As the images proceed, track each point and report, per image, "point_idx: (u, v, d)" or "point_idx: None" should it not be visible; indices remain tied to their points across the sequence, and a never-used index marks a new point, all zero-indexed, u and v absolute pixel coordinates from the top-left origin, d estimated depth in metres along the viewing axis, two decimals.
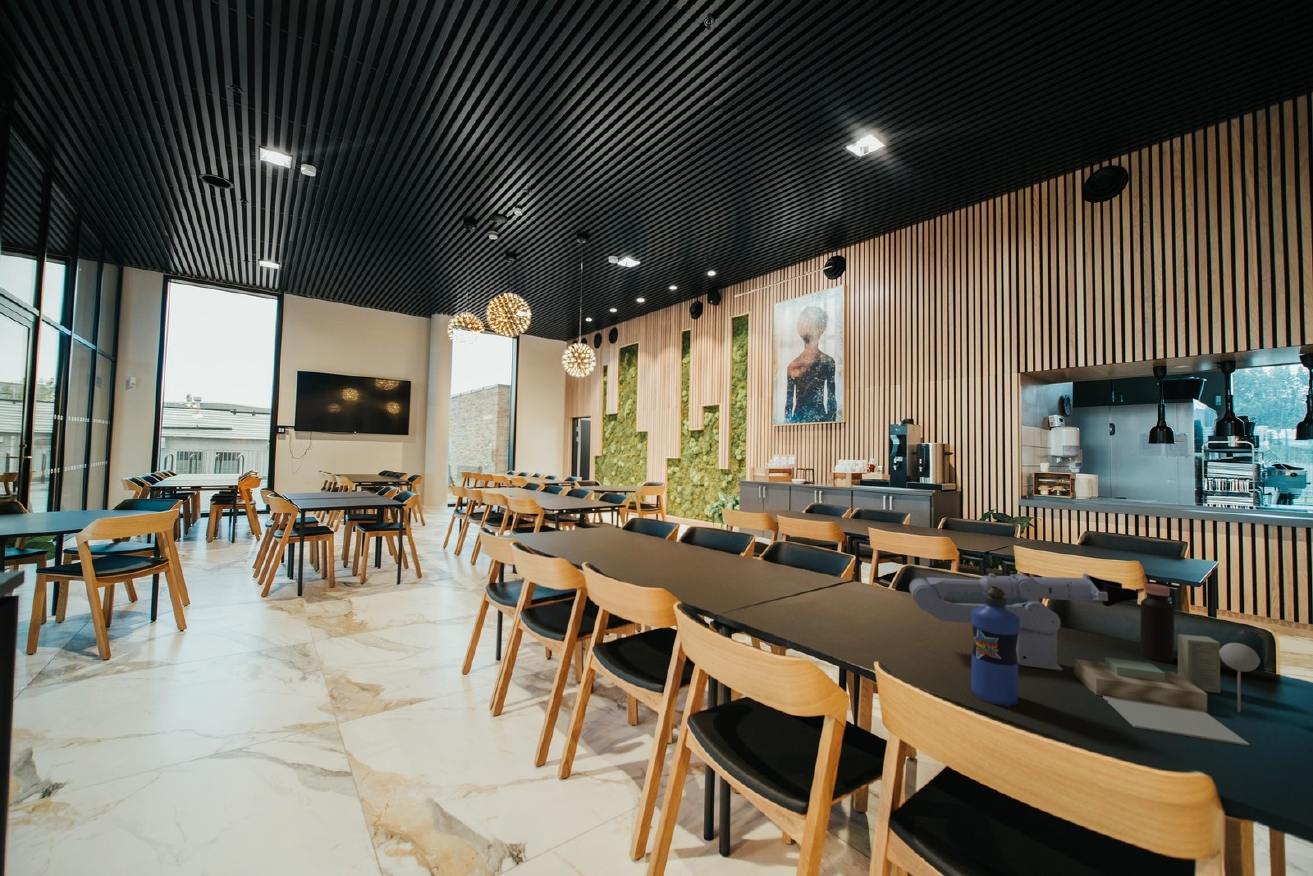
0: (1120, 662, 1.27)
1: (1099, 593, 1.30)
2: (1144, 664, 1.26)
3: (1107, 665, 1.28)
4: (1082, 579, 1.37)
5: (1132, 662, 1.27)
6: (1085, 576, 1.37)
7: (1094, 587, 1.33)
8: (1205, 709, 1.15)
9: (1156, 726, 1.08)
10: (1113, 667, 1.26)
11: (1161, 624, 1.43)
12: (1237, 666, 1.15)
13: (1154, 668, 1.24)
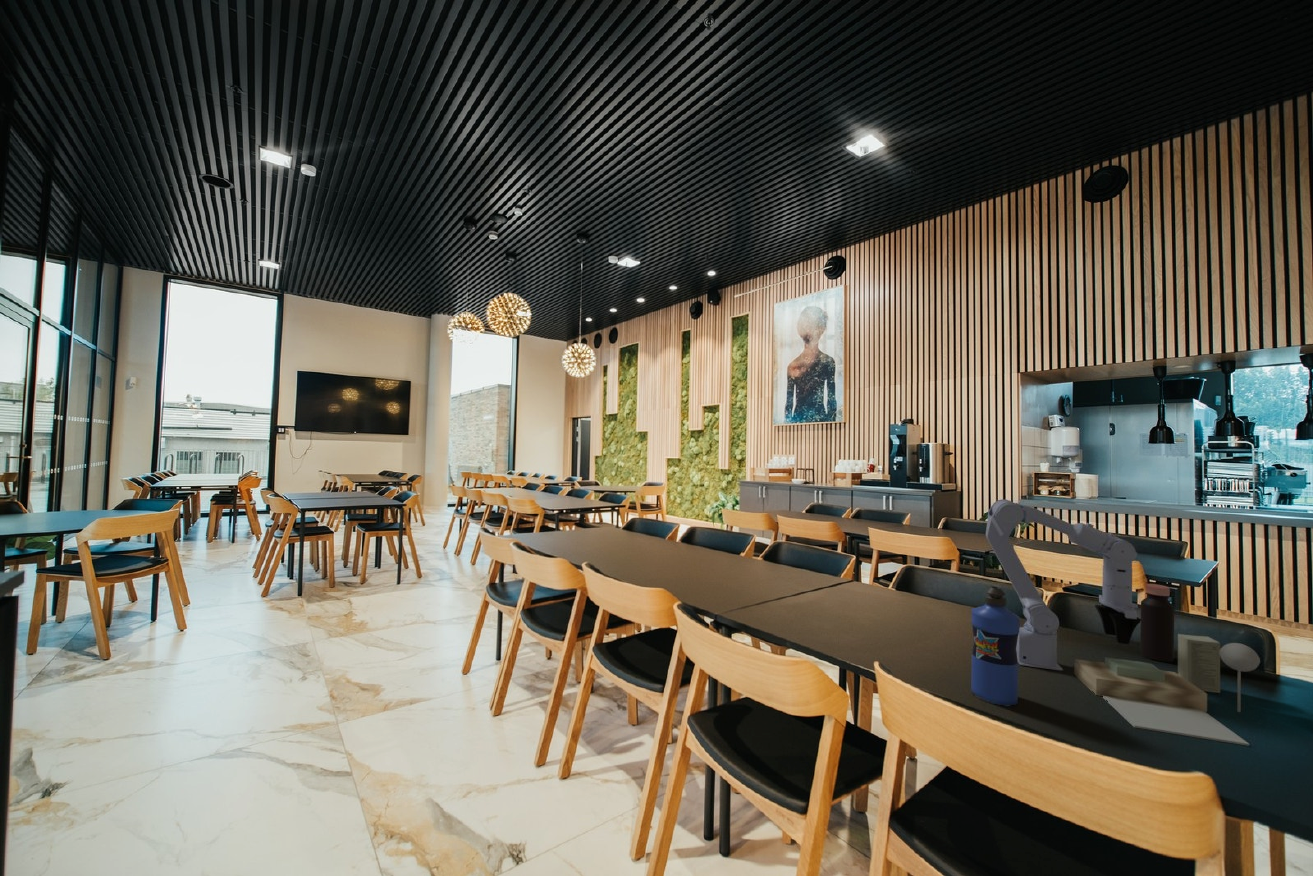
0: (1120, 662, 1.27)
1: (1135, 612, 1.27)
2: (1144, 664, 1.26)
3: (1107, 665, 1.28)
4: (1131, 601, 1.32)
5: (1132, 662, 1.27)
6: (1134, 604, 1.32)
7: None
8: (1205, 709, 1.15)
9: (1156, 726, 1.08)
10: (1113, 667, 1.26)
11: (1161, 624, 1.43)
12: (1237, 666, 1.15)
13: (1154, 668, 1.24)
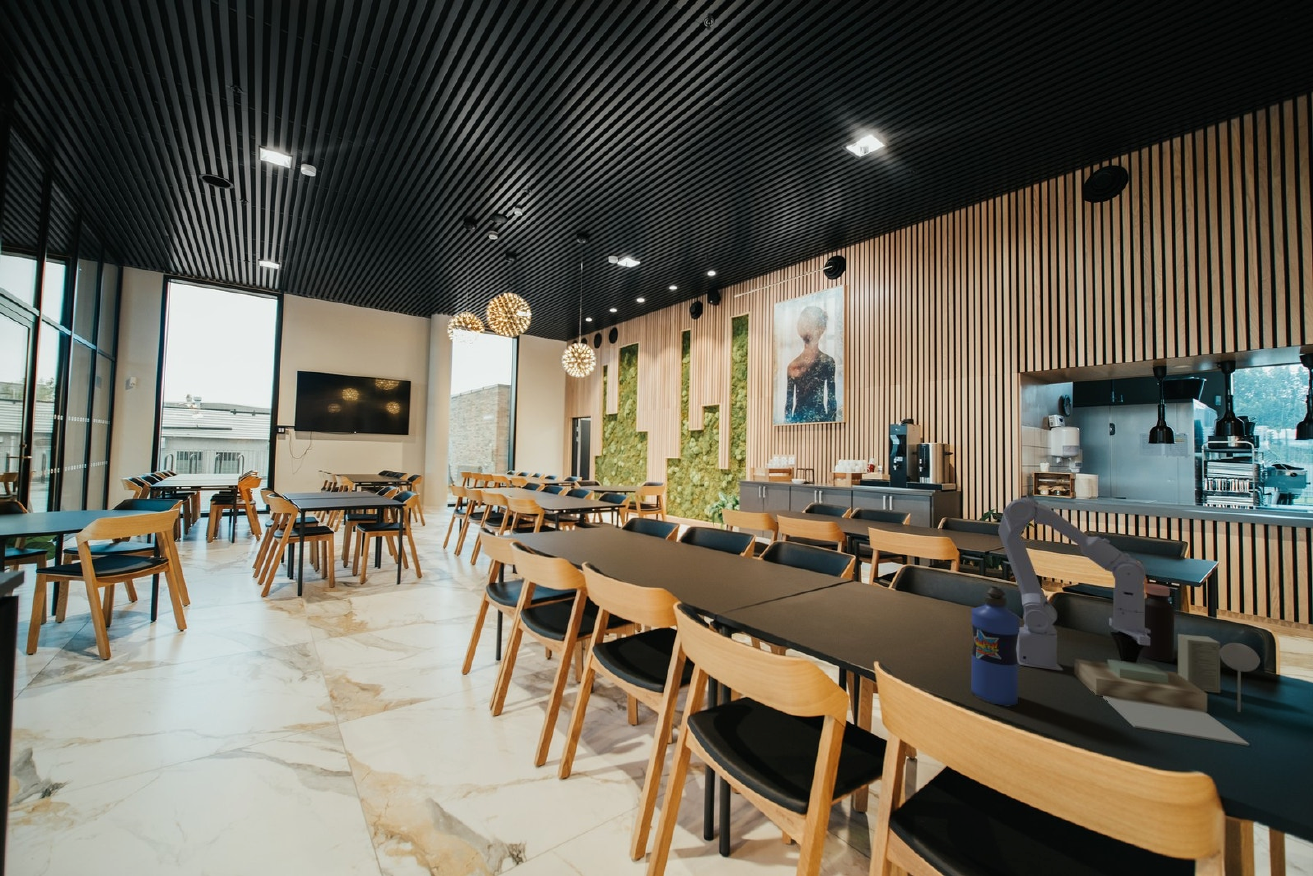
0: (1123, 664, 1.26)
1: (1149, 638, 1.21)
2: (1147, 666, 1.25)
3: (1109, 667, 1.27)
4: None
5: (1135, 664, 1.26)
6: (1147, 629, 1.26)
7: (1147, 635, 1.23)
8: (1205, 709, 1.15)
9: (1156, 726, 1.08)
10: (1116, 669, 1.24)
11: (1161, 624, 1.43)
12: (1237, 666, 1.15)
13: (1157, 670, 1.23)
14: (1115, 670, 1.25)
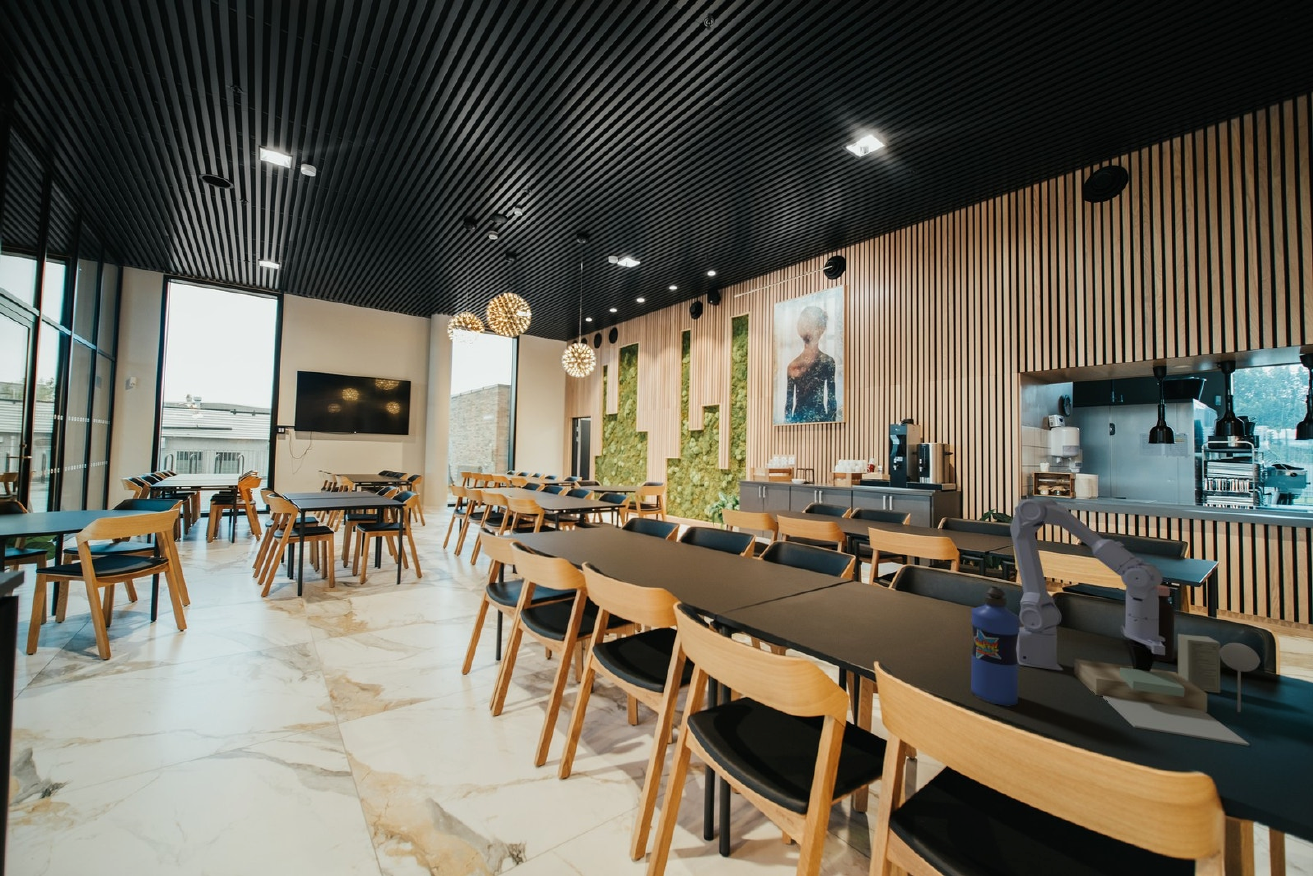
0: (1136, 674, 1.20)
1: (1163, 647, 1.15)
2: (1162, 676, 1.19)
3: (1122, 676, 1.22)
4: None
5: (1149, 673, 1.20)
6: (1161, 637, 1.21)
7: None
8: (1205, 709, 1.15)
9: (1156, 726, 1.08)
10: (1129, 680, 1.19)
11: (1161, 624, 1.43)
12: (1237, 666, 1.15)
13: (1172, 681, 1.17)
14: (1128, 681, 1.19)
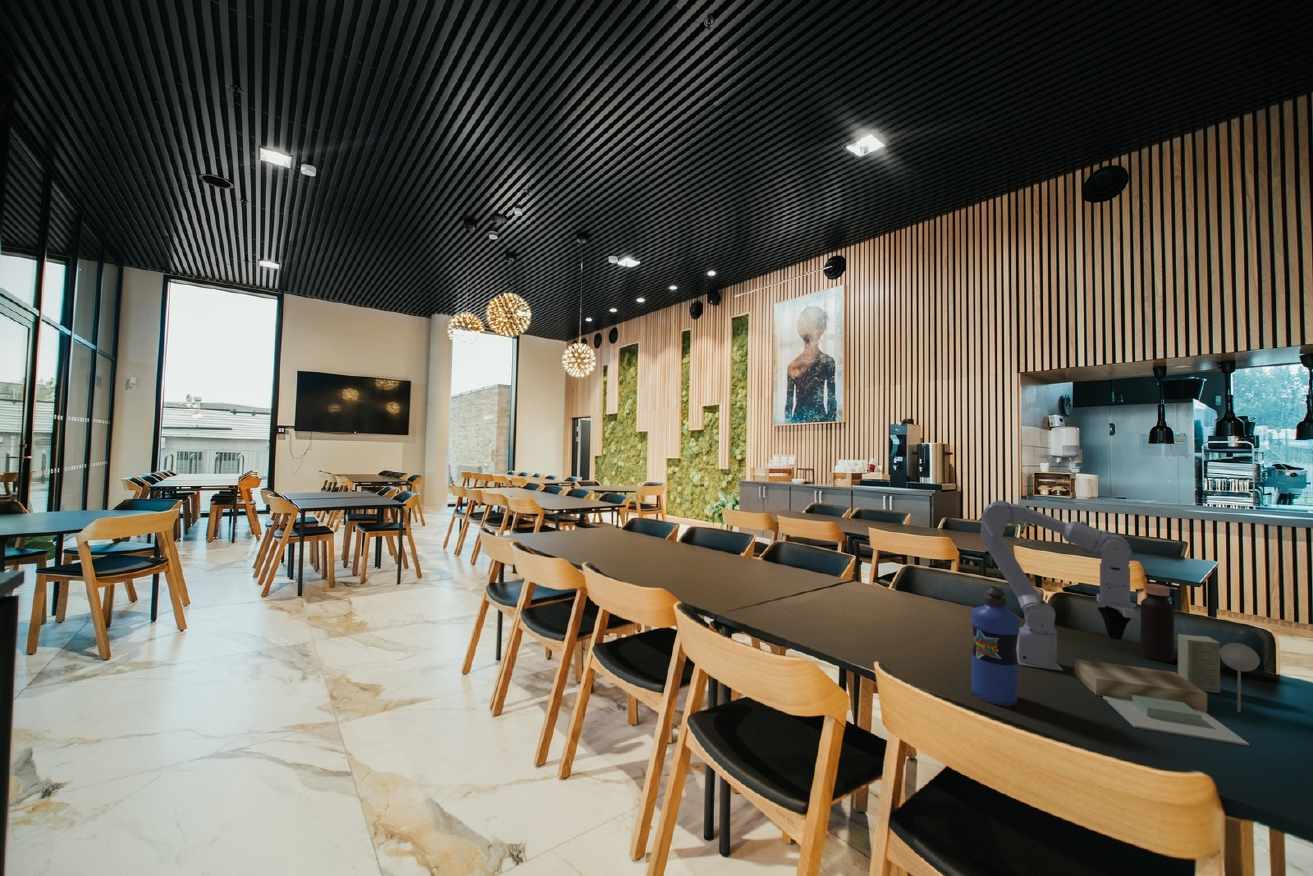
0: None
1: (1134, 611, 1.24)
2: None
3: (1143, 707, 1.13)
4: (1129, 600, 1.29)
5: None
6: (1133, 603, 1.29)
7: None
8: (1205, 709, 1.15)
9: (1156, 726, 1.08)
10: (1136, 704, 1.16)
11: (1161, 624, 1.43)
12: (1237, 666, 1.15)
13: None
14: (1137, 702, 1.16)
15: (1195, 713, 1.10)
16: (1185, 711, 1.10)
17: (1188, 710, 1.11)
